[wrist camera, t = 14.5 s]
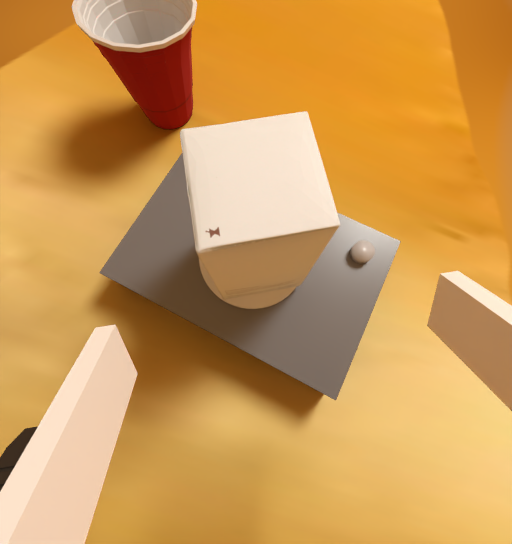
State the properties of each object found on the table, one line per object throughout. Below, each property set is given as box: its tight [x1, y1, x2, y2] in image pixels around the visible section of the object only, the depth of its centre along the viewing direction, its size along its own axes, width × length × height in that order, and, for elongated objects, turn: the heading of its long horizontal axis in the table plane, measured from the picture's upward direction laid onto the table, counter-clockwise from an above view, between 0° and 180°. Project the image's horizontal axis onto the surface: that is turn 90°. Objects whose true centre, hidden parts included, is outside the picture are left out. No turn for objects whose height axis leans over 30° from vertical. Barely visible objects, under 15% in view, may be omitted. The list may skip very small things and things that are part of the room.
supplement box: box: [180, 111, 340, 299], centre depth 20 cm, size 7×7×13 cm
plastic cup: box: [72, 0, 197, 129], centre depth 31 cm, size 11×11×12 cm
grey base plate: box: [100, 153, 401, 400], centre depth 28 cm, size 24×16×5 cm, turn 63°
